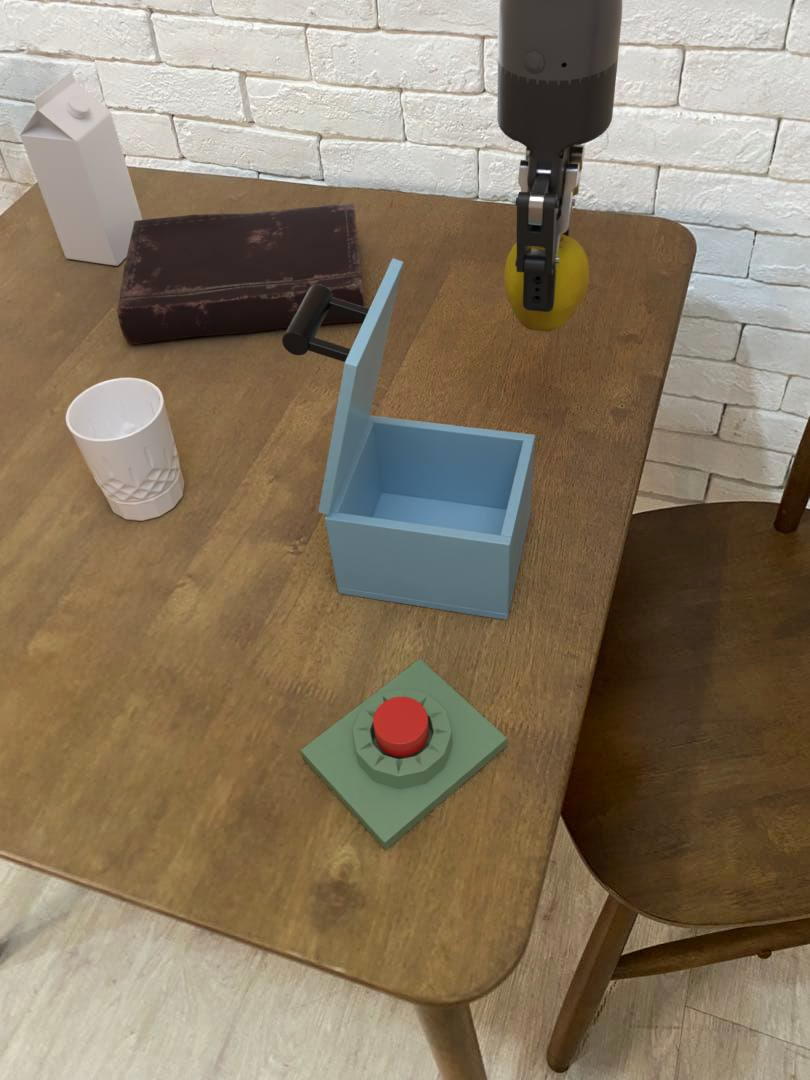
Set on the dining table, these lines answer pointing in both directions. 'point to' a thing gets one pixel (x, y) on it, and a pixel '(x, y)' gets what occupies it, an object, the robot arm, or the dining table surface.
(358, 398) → the lid
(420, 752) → the green button base
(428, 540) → the box
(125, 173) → the milk carton
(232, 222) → the diary
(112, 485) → the white cup
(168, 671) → the dining table surface
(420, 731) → the button
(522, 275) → the apple
